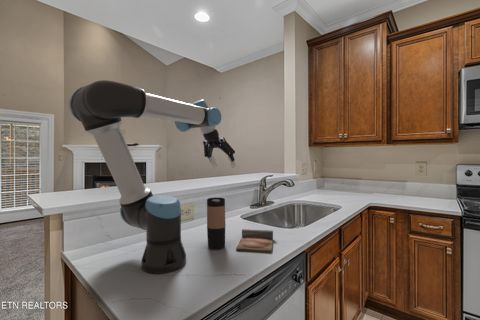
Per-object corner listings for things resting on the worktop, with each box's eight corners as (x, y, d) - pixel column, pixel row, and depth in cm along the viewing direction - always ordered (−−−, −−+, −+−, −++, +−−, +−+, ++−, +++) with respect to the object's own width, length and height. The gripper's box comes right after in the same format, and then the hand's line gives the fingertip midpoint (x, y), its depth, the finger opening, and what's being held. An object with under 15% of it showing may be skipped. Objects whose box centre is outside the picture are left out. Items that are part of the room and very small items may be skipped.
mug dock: (271, 253, 93) (271, 242, 93) (236, 250, 95) (236, 240, 95) (272, 239, 107) (272, 230, 107) (242, 237, 110) (242, 229, 110)
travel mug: (214, 241, 105) (214, 196, 104) (229, 245, 101) (228, 198, 101) (203, 247, 98) (202, 199, 98) (218, 251, 94) (217, 201, 94)
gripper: (232, 124, 115) (246, 162, 122) (197, 130, 130) (212, 164, 138) (223, 130, 110) (238, 170, 117) (188, 136, 125) (204, 170, 133)
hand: (224, 166), depth 128 cm, fingers open, 13 cm apart
